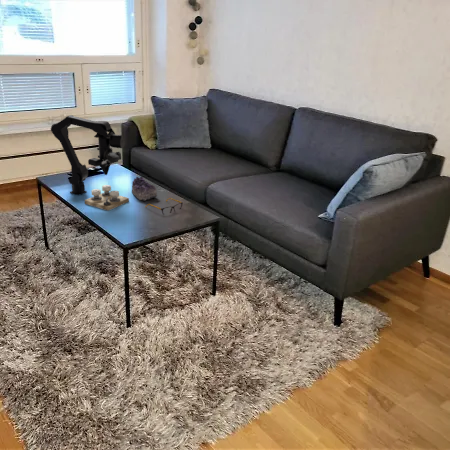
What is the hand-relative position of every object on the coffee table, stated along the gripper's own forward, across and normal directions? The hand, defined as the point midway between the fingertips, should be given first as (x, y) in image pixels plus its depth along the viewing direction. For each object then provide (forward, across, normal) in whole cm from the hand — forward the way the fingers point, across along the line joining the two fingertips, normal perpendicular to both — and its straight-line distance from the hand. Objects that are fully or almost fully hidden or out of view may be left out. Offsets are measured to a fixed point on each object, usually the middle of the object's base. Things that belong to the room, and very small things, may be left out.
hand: (105, 174), depth 245 cm
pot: (+10, -12, -13) cm, 20 cm away
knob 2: (+10, -2, -2) cm, 10 cm away
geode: (+13, +14, -13) cm, 23 cm away
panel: (+12, -7, -7) cm, 16 cm away
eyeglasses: (+13, +7, -34) cm, 38 cm away
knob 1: (+10, -10, -2) cm, 14 cm away
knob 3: (+10, -5, -11) cm, 16 cm away
